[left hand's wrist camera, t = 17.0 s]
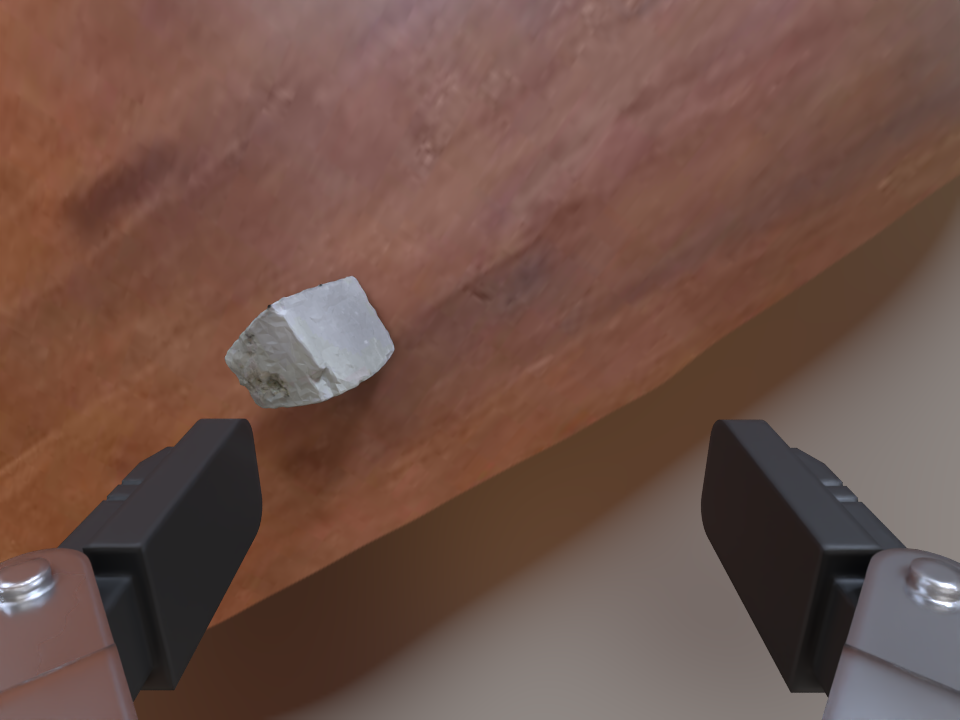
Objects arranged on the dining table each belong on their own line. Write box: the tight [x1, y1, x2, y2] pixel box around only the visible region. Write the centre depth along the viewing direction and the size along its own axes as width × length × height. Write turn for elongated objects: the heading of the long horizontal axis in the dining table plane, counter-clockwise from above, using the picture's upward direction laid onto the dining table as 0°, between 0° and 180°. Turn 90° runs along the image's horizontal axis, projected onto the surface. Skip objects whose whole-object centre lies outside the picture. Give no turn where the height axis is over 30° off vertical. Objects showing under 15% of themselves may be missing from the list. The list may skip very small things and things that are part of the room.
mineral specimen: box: [225, 276, 394, 408], centre depth 38 cm, size 7×9×8 cm
